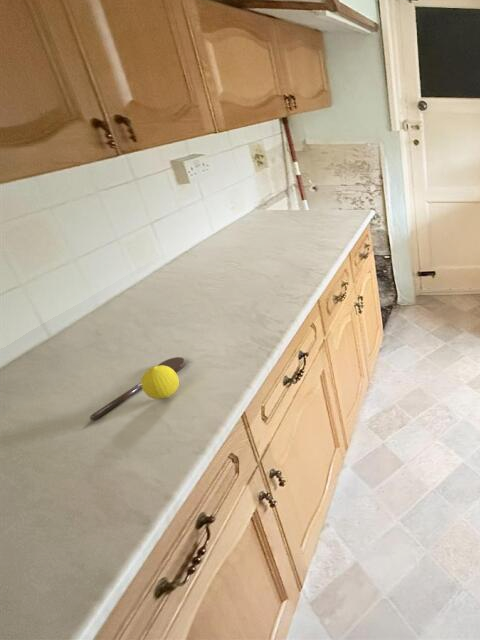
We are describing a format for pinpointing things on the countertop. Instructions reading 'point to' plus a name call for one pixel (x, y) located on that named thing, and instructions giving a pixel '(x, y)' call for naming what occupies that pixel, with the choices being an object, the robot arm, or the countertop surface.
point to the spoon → (138, 387)
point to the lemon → (159, 382)
